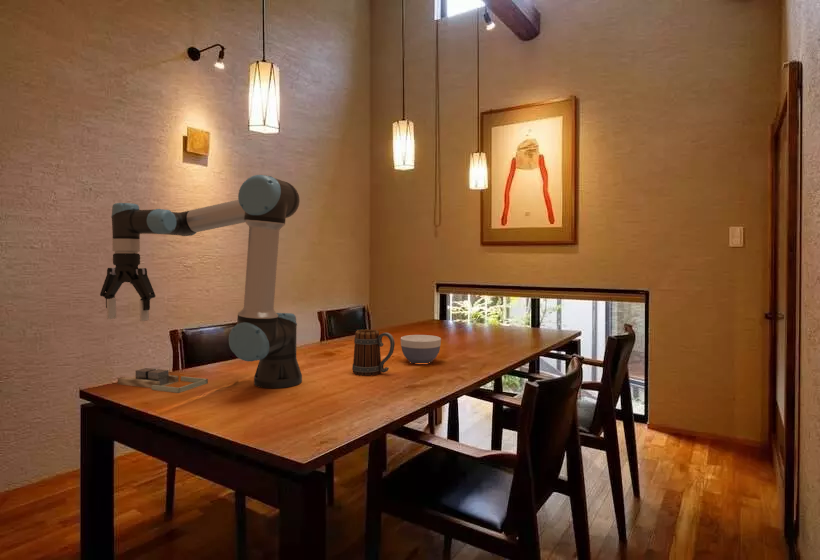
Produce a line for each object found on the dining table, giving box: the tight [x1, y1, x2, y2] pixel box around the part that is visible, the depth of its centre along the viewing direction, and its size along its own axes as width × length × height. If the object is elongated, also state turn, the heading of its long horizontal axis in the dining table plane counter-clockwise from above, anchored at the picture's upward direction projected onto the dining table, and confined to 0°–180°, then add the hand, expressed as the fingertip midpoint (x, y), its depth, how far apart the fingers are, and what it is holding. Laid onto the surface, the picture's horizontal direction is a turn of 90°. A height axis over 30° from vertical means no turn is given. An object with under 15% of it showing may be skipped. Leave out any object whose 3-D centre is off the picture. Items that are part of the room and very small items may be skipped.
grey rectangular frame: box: [151, 376, 209, 394], centre depth 152 cm, size 10×12×3 cm
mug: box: [351, 329, 395, 377], centre depth 177 cm, size 16×11×15 cm
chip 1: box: [135, 367, 157, 380], centre depth 156 cm, size 4×4×4 cm
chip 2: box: [148, 368, 170, 385], centre depth 154 cm, size 4×4×4 cm
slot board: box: [117, 374, 180, 389], centre depth 156 cm, size 15×9×3 cm, turn 71°
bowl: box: [400, 334, 442, 364], centre depth 196 cm, size 16×16×10 cm
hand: (127, 319), depth 158 cm, fingers open, 13 cm apart
